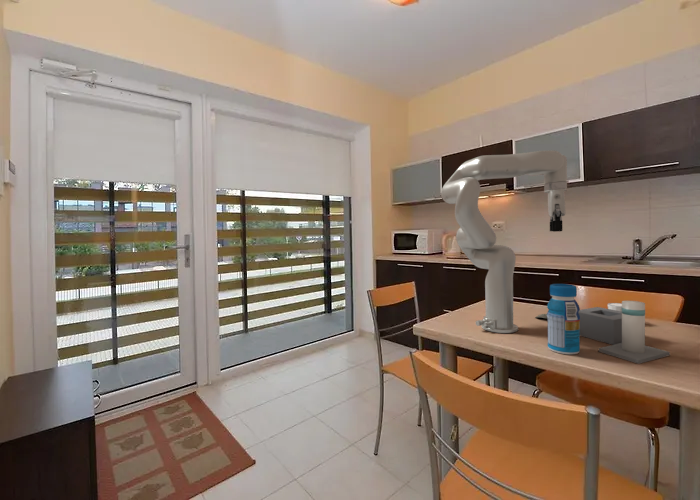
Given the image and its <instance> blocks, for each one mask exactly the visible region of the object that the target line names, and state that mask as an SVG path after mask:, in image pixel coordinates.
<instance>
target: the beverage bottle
mask: <svg viewBox="0 0 700 500" xmlns="http://www.w3.org/2000/svg"><path fill="white" fill-rule="evenodd" d="M577 291H578V290H577V286H576V285H575V284H569V283H552V284H550V285H549V295H550V297H551V298H550V299H549V301H548V303H547V304H546V307H547V309H548V311H547V312H546V314H547V318H548V319H547V318H546V319H547V348H548V350H550V351H552V352H554V353H556V354H557V353H558V354H561V355H577V354H578V353H580V349H581V348H580V347H581V346H580V343H581V342H580V337H581V336H580V315H579V313H578V312H579V310H581V309H580V306H579V303H578V302H577V300H576V298H577V294H578V292H577Z"/></svg>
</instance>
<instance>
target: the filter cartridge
mask: <svg viewBox="0 0 700 500" xmlns="http://www.w3.org/2000/svg"><path fill="white" fill-rule="evenodd" d="M621 304H622V349H623V350H625V351H628V352H633V353H644V352H645V346H646V303H645V302H643V301H638V300H622V301H621Z"/></svg>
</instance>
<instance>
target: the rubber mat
mask: <svg viewBox="0 0 700 500" xmlns="http://www.w3.org/2000/svg"><path fill="white" fill-rule="evenodd" d="M598 352H599V353H602V354H605V355H609V356H612V357H616V358H618V359H622V360H625V361H629V362H632V363H635V364H643V363H646V362H650V361H654V360H657V359H661V358H665V357H669V356H670V354H671V352H670V351H668V350H664V349H659V348H657V347H651V346H648V345H645V352H644V353H633V352H628V351H625V350H623V349H622V343H619V344H615V345H612V344H609V345H607V346H602V347H598Z"/></svg>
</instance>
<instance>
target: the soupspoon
mask: <svg viewBox="0 0 700 500" xmlns="http://www.w3.org/2000/svg"><path fill="white" fill-rule="evenodd" d="M535 318H543V319H547V320H548V318H547V313H541V314H538V315H536V316H535Z"/></svg>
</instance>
